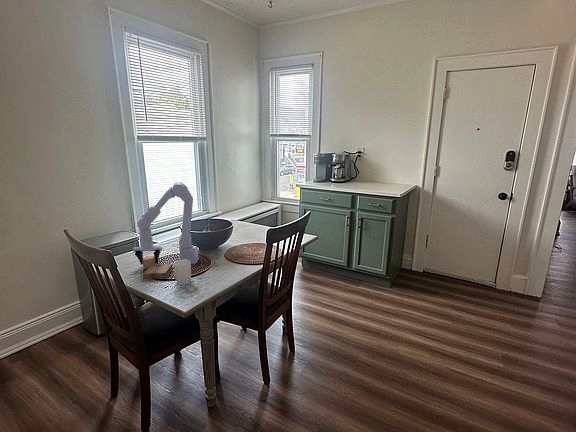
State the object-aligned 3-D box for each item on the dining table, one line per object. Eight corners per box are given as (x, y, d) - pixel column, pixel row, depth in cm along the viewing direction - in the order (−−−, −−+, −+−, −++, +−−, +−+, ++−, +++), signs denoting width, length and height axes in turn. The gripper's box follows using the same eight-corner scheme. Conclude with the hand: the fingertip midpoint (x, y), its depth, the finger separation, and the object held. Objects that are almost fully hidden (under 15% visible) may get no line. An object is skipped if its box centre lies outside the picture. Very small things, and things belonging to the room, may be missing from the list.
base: (172, 269, 167) (172, 263, 166) (166, 278, 156) (165, 272, 155) (151, 270, 166) (150, 264, 165) (143, 279, 155) (142, 273, 155)
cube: (156, 264, 174) (155, 255, 172) (153, 267, 169) (152, 259, 168) (146, 264, 173) (145, 256, 172) (143, 268, 169) (142, 259, 167)
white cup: (182, 287, 147) (180, 267, 145) (171, 283, 151) (169, 263, 149) (195, 280, 154) (194, 261, 151) (184, 276, 158) (182, 258, 155)
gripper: (162, 236, 172) (165, 260, 175) (135, 237, 171) (138, 261, 174) (158, 241, 165) (161, 265, 168) (130, 242, 164) (133, 266, 167)
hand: (149, 263), depth 171 cm, fingers open, 7 cm apart
